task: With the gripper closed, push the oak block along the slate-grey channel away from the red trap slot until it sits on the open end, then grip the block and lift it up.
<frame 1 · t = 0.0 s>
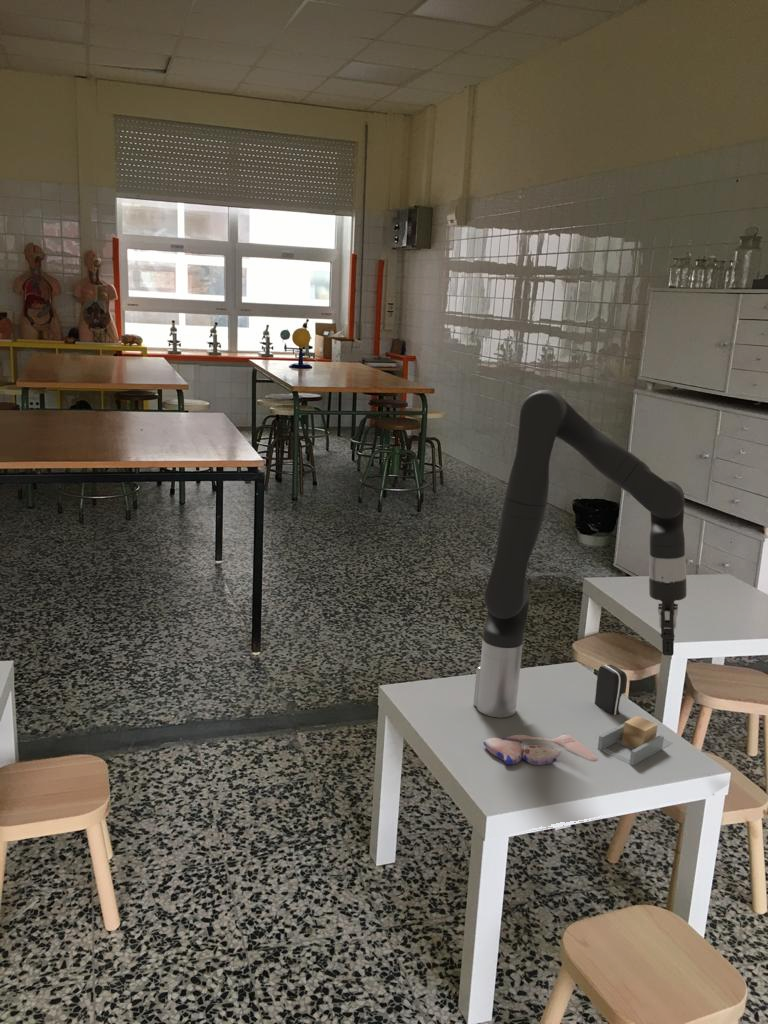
hand: (668, 647, 183), 22 cm above the table, tool pointing down, fingers open, 8 cm apart
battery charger: (608, 713, 201), on the table
channel: (635, 750, 184), on the table
oak block: (638, 744, 184), point 1 cm above the table, touching channel
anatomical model: (539, 758, 179), on the table
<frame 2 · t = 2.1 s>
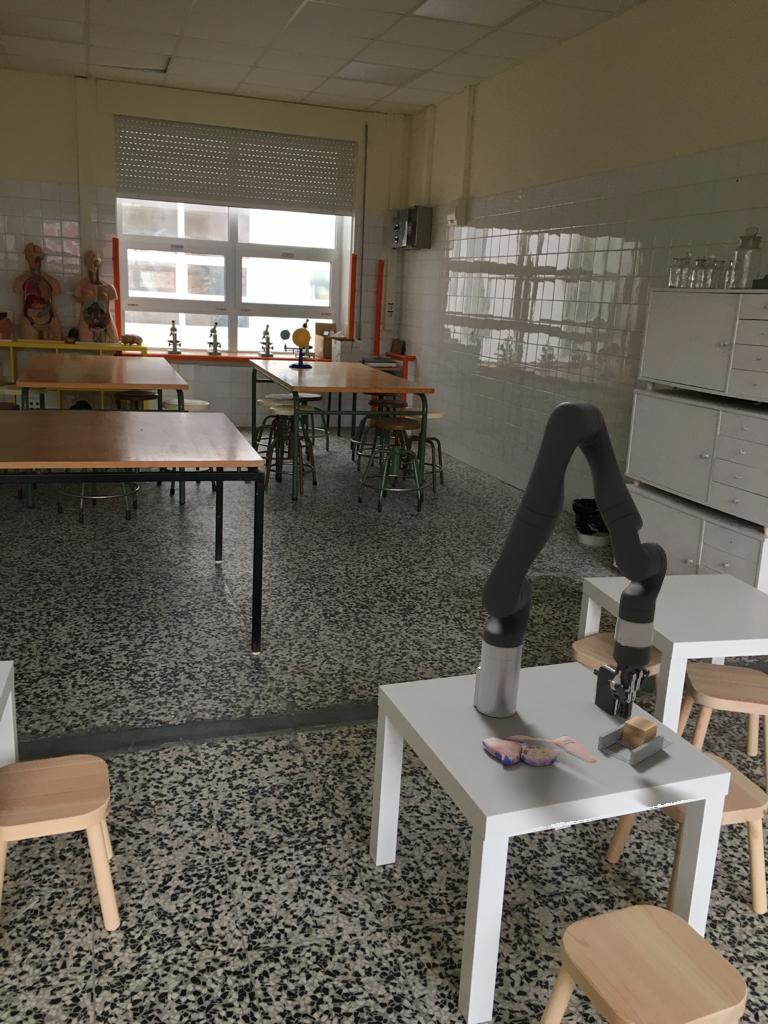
hand: (624, 716, 177), 10 cm above the table, tool pointing down, fingers closed
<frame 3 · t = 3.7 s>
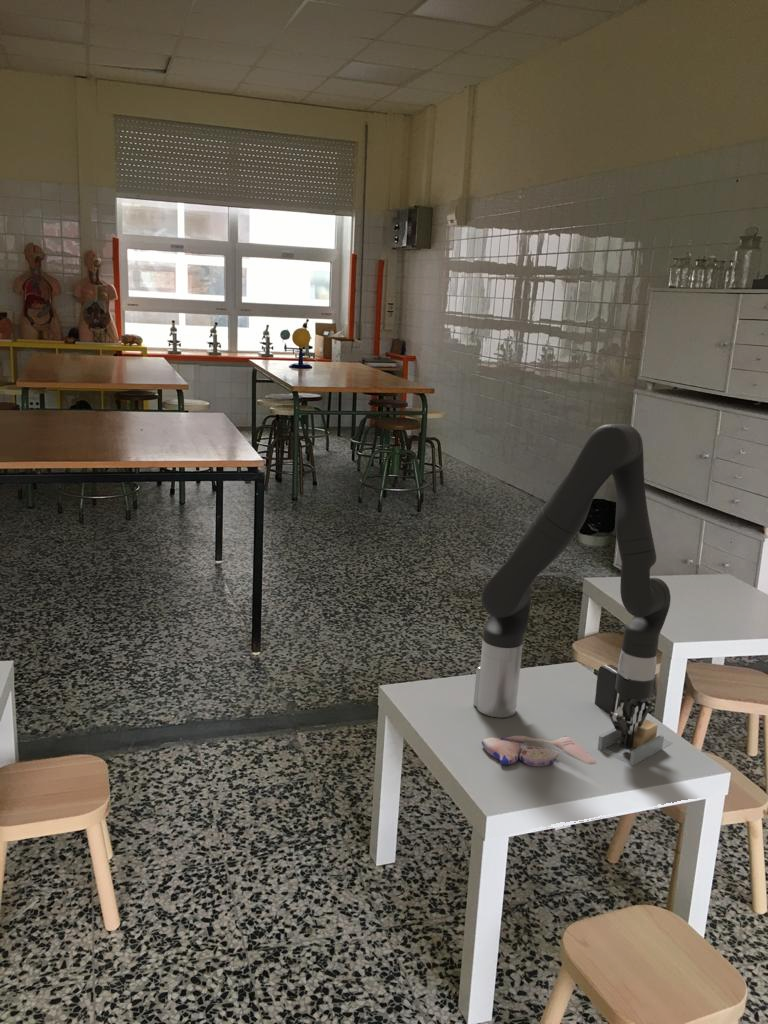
hand: (625, 747, 180), 2 cm above the table, tool pointing down, fingers closed
oak block: (638, 744, 184), point 1 cm above the table, touching gripper
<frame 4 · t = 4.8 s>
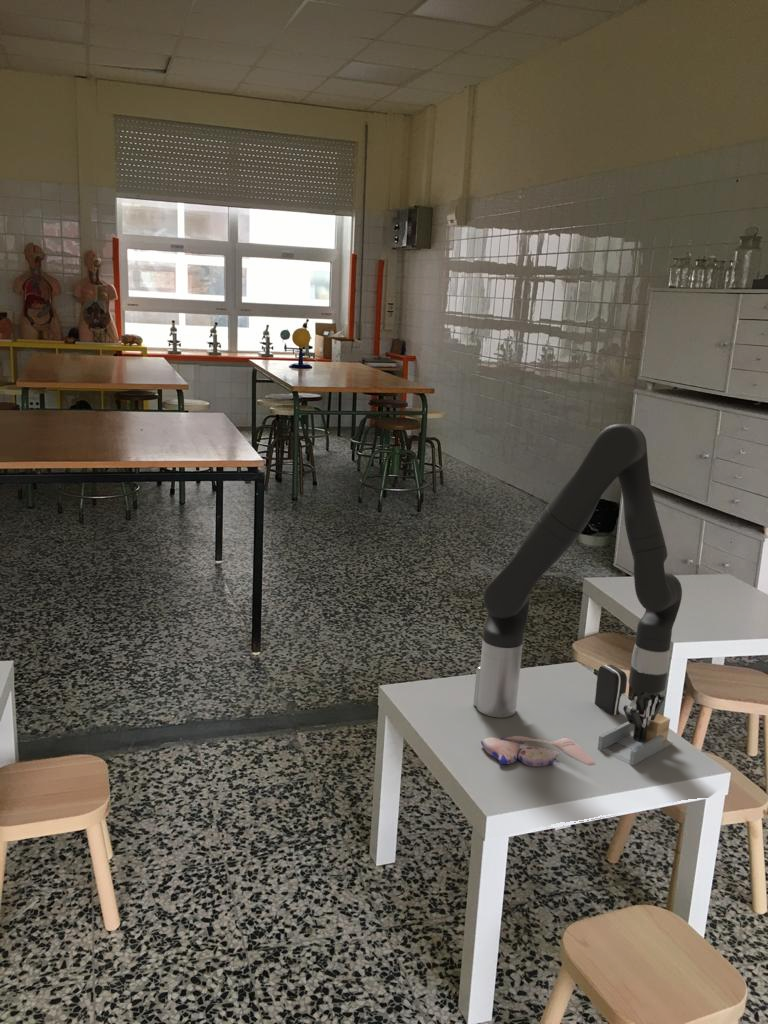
hand: (639, 740, 183), 2 cm above the table, tool pointing down, fingers closed
oak block: (650, 738, 187), point 1 cm above the table, touching channel, gripper
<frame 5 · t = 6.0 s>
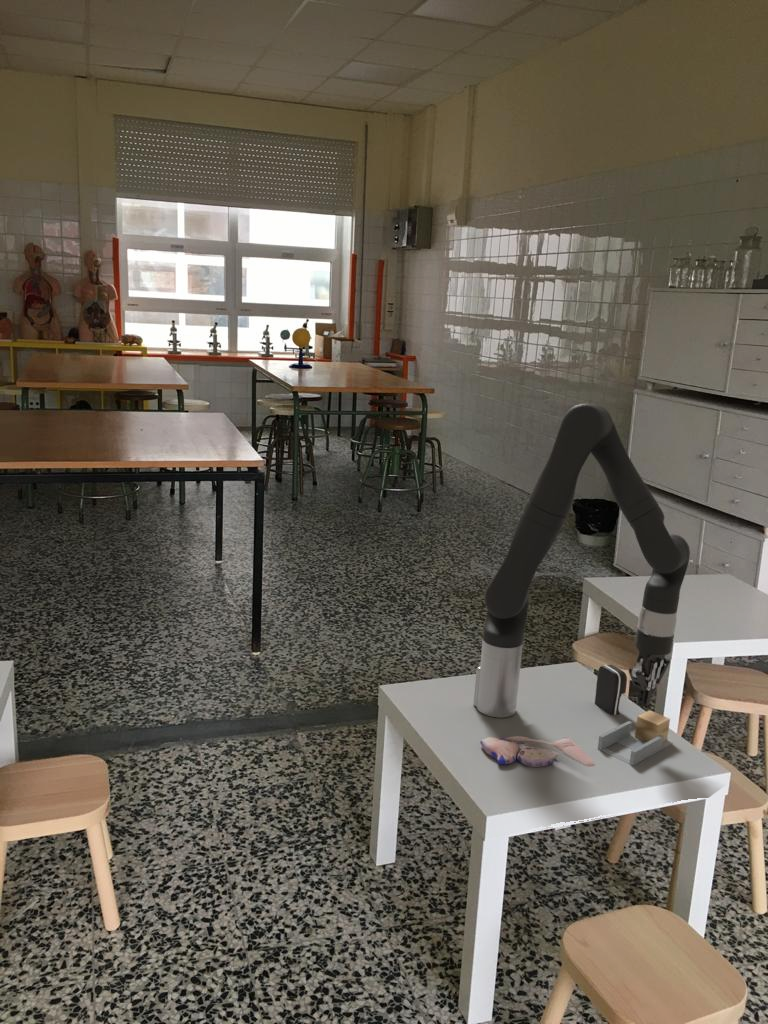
hand: (643, 703, 182), 11 cm above the table, tool pointing down, fingers closed
oak block: (650, 738, 187), point 1 cm above the table, touching channel
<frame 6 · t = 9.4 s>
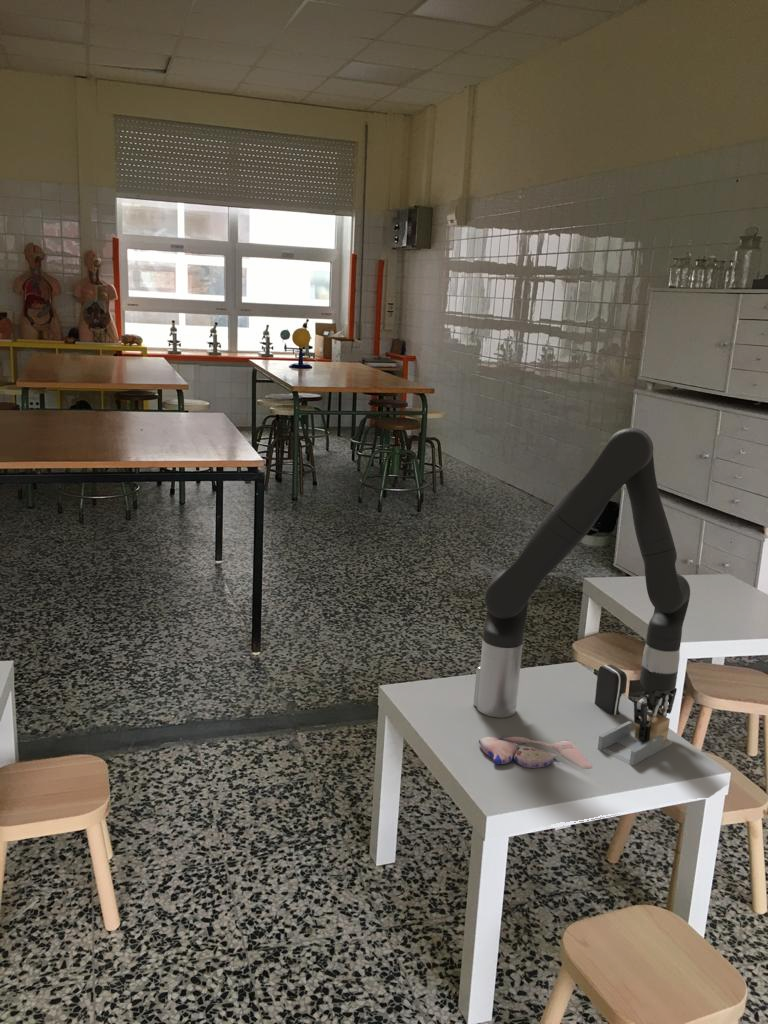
hand: (650, 736, 187), 2 cm above the table, tool pointing down, fingers closed on oak block, 5 cm apart
oak block: (650, 738, 187), point 1 cm above the table, touching channel, gripper
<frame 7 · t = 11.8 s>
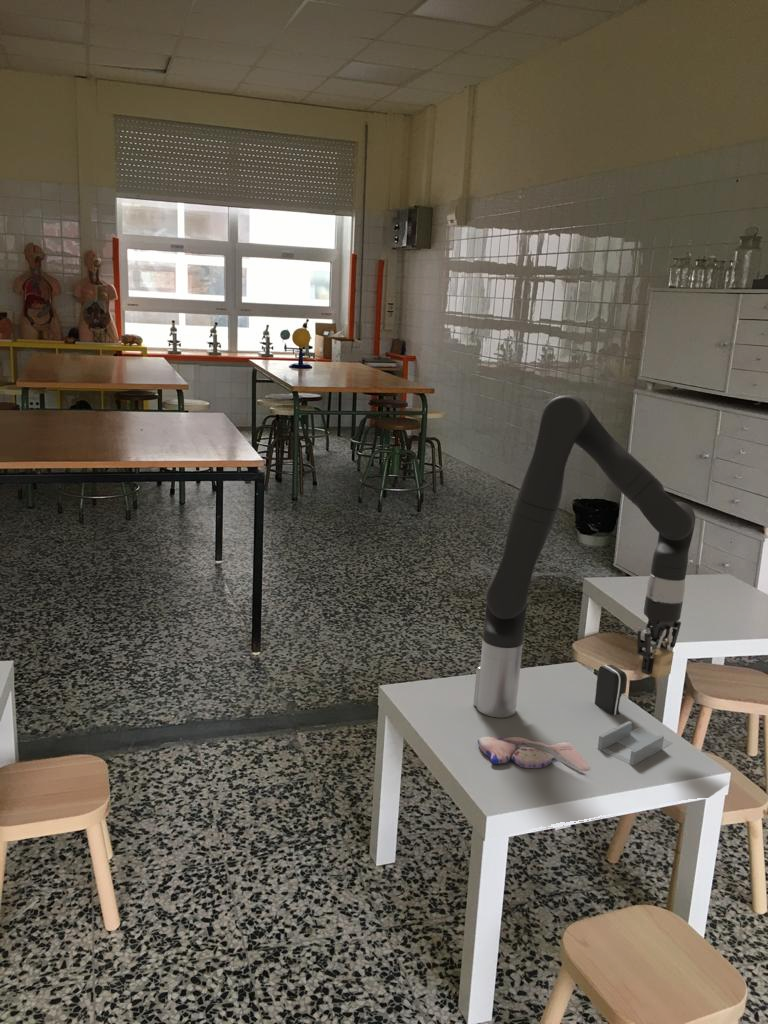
hand: (653, 669, 183), 17 cm above the table, tool pointing down, fingers closed on oak block, 5 cm apart
oak block: (653, 672, 183), point 17 cm above the table, touching gripper
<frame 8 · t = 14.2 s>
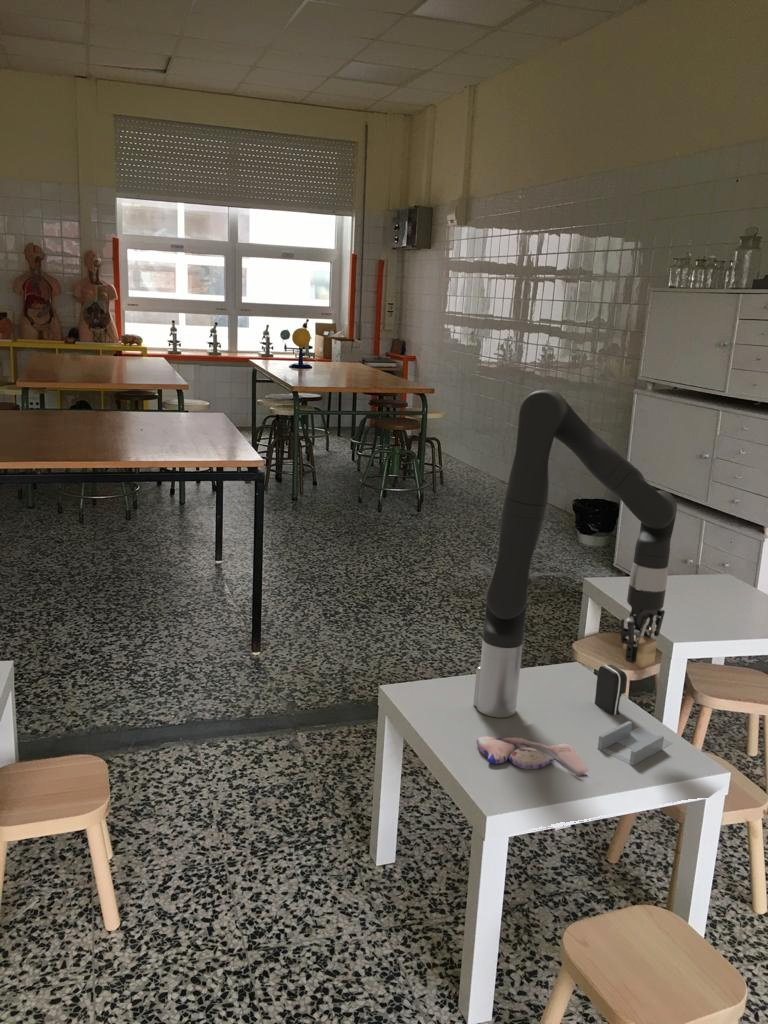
hand: (637, 658, 184), 19 cm above the table, tool pointing down, fingers closed on oak block, 5 cm apart
oak block: (637, 660, 184), point 19 cm above the table, touching gripper
at the end: oak block point 18.8 cm above the table; the gripper is holding oak block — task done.
